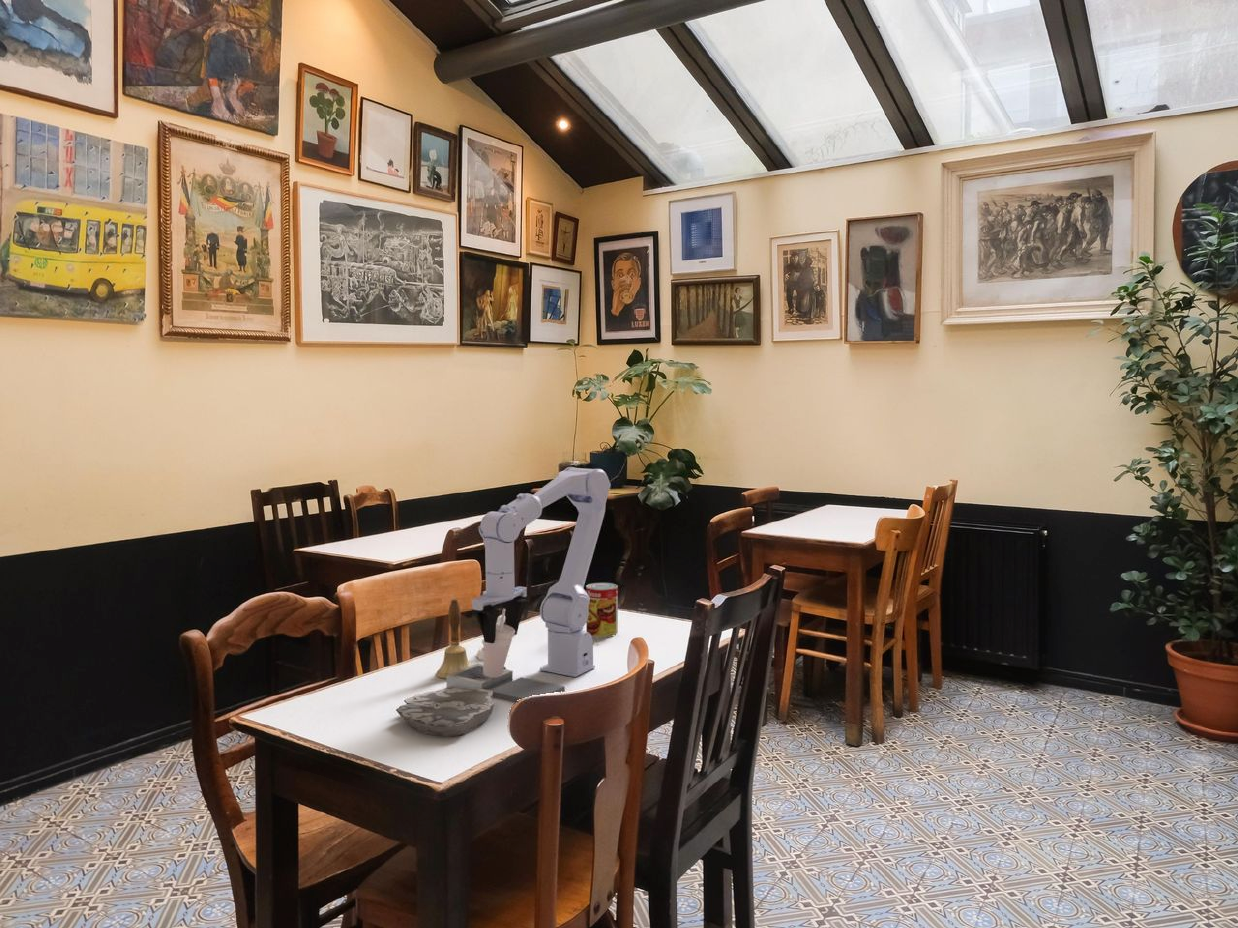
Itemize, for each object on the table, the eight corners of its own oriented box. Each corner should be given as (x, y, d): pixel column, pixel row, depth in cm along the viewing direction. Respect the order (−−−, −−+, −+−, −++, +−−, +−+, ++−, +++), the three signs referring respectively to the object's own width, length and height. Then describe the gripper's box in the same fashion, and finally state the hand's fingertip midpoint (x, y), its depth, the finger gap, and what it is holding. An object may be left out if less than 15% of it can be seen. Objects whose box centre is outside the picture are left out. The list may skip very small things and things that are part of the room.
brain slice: (419, 701, 170) (418, 686, 169) (504, 704, 168) (504, 688, 168) (380, 739, 150) (380, 723, 150) (476, 743, 148) (476, 726, 148)
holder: (521, 678, 182) (521, 666, 182) (482, 695, 172) (482, 683, 171) (486, 671, 187) (486, 659, 187) (446, 687, 177) (446, 675, 176)
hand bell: (428, 673, 186) (426, 600, 185) (459, 665, 192) (458, 593, 191) (451, 682, 180) (450, 606, 179) (483, 673, 186) (482, 599, 185)
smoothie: (482, 680, 172) (494, 613, 170) (471, 668, 177) (482, 602, 176) (512, 679, 175) (523, 613, 174) (500, 667, 181) (511, 602, 179)
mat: (564, 691, 174) (564, 686, 174) (534, 705, 166) (534, 700, 166) (521, 681, 180) (521, 677, 180) (489, 695, 172) (489, 690, 172)
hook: (515, 641, 192) (489, 623, 192) (492, 678, 197) (468, 659, 198) (529, 626, 198) (505, 608, 199) (507, 662, 203) (483, 644, 204)
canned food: (582, 630, 220) (581, 584, 220) (610, 627, 223) (610, 581, 223) (593, 638, 213) (593, 590, 212) (622, 635, 216) (622, 587, 215)
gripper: (507, 563, 182) (508, 627, 183) (460, 575, 170) (461, 643, 171) (534, 567, 179) (535, 632, 180) (487, 579, 166) (488, 649, 167)
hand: (500, 638), depth 175 cm, fingers closed on smoothie, 6 cm apart
